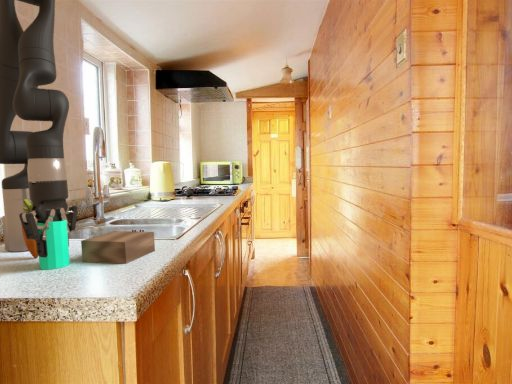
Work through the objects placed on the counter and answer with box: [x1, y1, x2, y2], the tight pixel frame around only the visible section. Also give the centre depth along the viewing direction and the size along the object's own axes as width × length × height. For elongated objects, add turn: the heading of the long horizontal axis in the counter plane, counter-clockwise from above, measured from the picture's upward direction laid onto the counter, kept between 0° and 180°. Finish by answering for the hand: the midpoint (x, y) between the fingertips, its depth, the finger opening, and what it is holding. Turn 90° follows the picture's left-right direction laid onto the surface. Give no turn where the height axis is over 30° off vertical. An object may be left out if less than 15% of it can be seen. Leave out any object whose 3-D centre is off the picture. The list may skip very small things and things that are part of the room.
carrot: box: [21, 199, 39, 259], centre depth 87 cm, size 5×5×15 cm
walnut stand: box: [80, 230, 156, 264], centre depth 86 cm, size 12×12×5 cm
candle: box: [37, 220, 71, 271], centre depth 79 cm, size 6×6×12 cm
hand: (54, 253), depth 79 cm, fingers closed on candle, 4 cm apart
